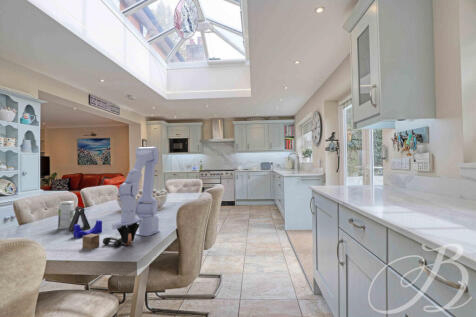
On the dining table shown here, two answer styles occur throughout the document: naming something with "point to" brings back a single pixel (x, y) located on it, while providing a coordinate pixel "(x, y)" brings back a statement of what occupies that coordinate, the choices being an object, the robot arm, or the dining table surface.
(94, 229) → the cable clip
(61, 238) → the dining table surface
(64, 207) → the syrup box
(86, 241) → the block
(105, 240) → the dolly
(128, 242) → the pin
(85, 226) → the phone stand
